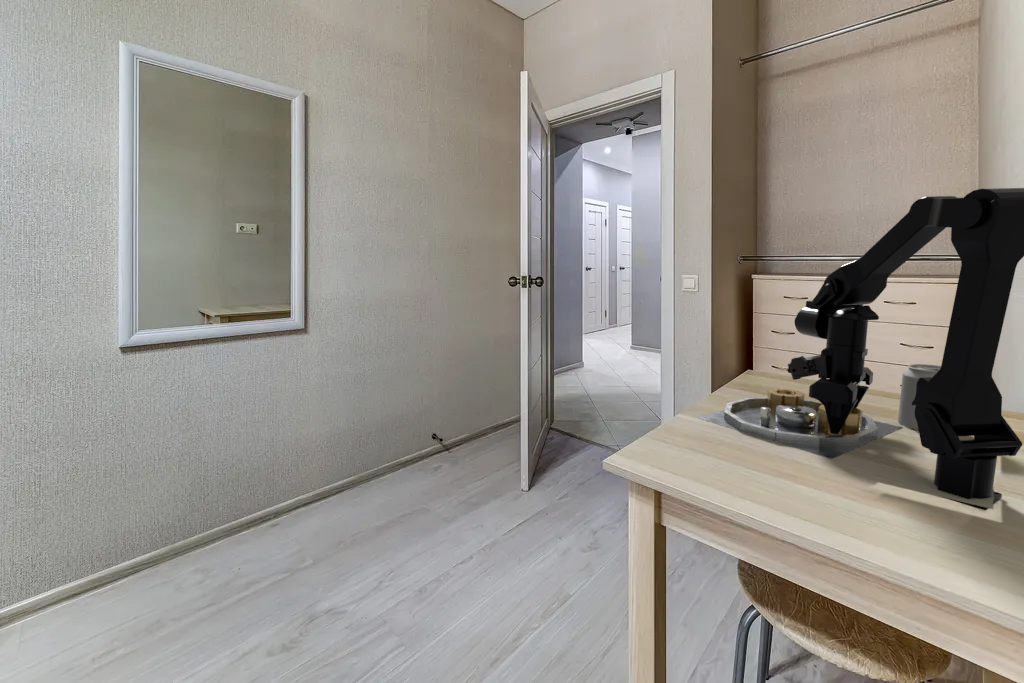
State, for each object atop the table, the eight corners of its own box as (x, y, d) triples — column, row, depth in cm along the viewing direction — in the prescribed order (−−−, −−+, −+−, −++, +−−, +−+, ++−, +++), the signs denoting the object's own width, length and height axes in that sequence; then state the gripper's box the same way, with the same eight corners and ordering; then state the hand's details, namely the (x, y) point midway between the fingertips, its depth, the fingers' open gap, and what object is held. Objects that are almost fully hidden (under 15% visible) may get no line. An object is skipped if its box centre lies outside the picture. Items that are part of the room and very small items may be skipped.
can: (960, 438, 85) (969, 371, 83) (911, 436, 86) (919, 370, 84) (933, 424, 92) (940, 362, 90) (888, 422, 94) (894, 362, 92)
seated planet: (791, 418, 95) (792, 398, 94) (761, 410, 100) (762, 391, 99) (808, 412, 98) (810, 393, 97) (778, 405, 103) (779, 386, 102)
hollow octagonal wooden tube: (855, 439, 83) (857, 416, 82) (814, 431, 87) (815, 409, 87) (862, 429, 87) (864, 408, 87) (822, 422, 92) (824, 402, 91)
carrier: (831, 464, 75) (833, 437, 75) (696, 422, 97) (697, 400, 96) (902, 432, 88) (904, 408, 87) (769, 401, 109) (770, 382, 109)
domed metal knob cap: (803, 430, 88) (804, 416, 87) (768, 421, 93) (769, 407, 93) (822, 423, 91) (823, 409, 91) (787, 414, 97) (788, 401, 96)
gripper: (808, 333, 97) (802, 408, 99) (778, 346, 84) (773, 432, 86) (877, 338, 89) (869, 419, 92) (856, 353, 76) (847, 447, 79)
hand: (838, 428), depth 87 cm, fingers closed on hollow octagonal wooden tube, 6 cm apart
